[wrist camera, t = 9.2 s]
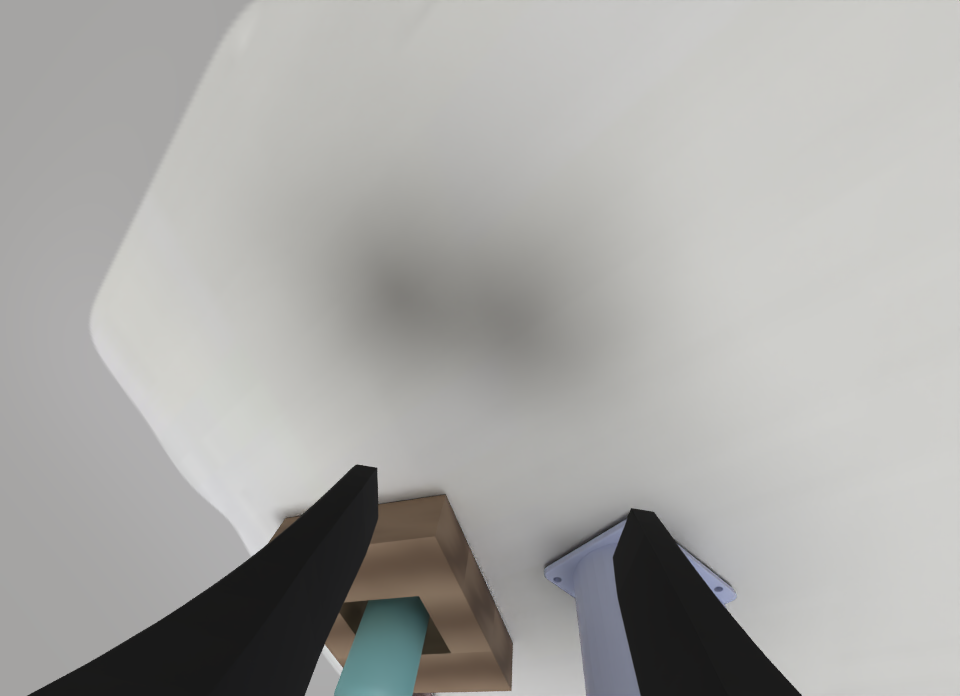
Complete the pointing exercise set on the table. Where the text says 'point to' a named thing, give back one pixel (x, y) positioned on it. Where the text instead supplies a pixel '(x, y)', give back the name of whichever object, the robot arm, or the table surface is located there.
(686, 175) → the table surface
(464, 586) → the socket block
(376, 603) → the teal peg
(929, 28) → the table surface
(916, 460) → the table surface
